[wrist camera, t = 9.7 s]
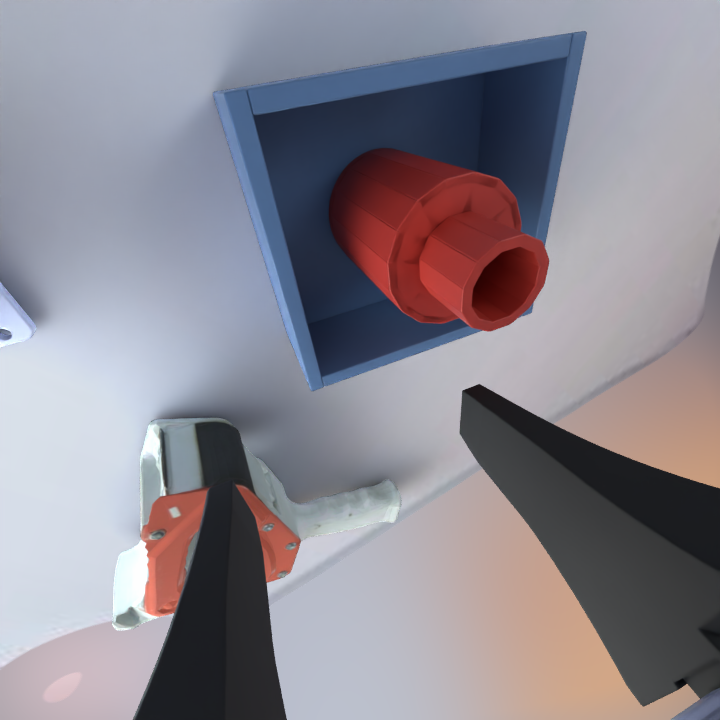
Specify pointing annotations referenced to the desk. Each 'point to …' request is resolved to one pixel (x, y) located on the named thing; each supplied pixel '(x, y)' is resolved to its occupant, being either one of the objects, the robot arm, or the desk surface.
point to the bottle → (437, 239)
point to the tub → (401, 132)
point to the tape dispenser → (186, 503)
